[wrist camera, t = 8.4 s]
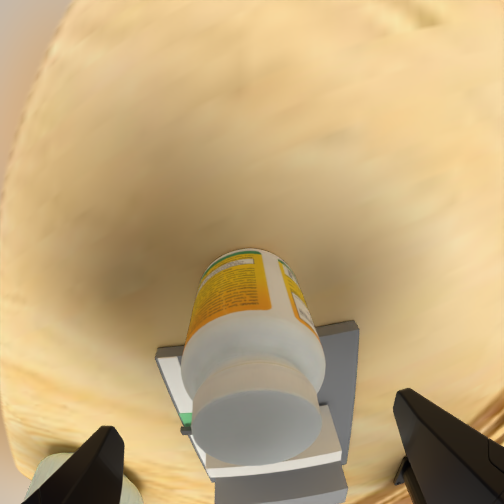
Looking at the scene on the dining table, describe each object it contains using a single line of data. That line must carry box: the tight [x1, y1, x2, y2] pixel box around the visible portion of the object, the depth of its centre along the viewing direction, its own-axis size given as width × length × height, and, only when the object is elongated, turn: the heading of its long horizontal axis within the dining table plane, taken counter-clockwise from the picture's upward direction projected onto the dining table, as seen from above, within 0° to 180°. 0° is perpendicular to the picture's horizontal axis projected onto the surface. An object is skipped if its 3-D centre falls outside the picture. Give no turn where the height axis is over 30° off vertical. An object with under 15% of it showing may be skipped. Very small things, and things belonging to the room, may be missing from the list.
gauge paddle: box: [180, 405, 342, 478], centre depth 18 cm, size 1×10×4 cm, turn 97°
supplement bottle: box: [181, 248, 326, 466], centre depth 13 cm, size 5×5×10 cm
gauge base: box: [155, 320, 359, 504], centre depth 19 cm, size 15×12×5 cm
